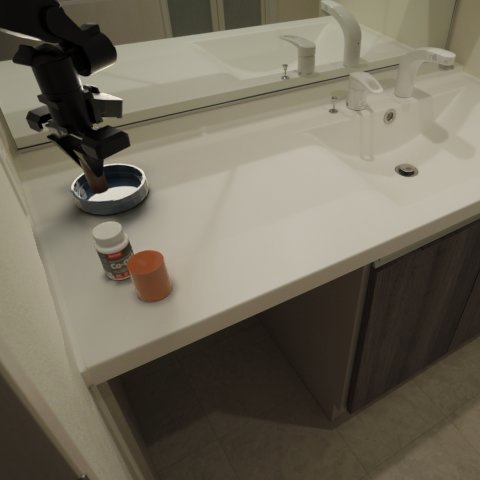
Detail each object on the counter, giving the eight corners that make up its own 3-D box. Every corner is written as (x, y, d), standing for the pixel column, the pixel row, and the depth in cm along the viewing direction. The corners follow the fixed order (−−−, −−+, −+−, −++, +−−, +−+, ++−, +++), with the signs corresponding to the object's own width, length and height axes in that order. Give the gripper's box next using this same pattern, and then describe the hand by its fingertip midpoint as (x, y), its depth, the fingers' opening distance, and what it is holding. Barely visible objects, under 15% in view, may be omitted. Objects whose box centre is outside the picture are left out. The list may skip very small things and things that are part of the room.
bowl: (61, 210, 76) (54, 196, 74) (102, 172, 86) (97, 159, 84) (126, 222, 75) (121, 208, 73) (161, 182, 85) (157, 168, 82)
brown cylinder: (87, 192, 76) (74, 159, 71) (97, 183, 78) (84, 150, 73) (102, 195, 75) (90, 161, 71) (112, 185, 78) (100, 152, 73)
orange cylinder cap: (131, 298, 62) (119, 271, 58) (147, 274, 66) (138, 247, 62) (162, 304, 61) (153, 277, 57) (177, 280, 65) (169, 252, 61)
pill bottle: (118, 285, 64) (101, 245, 58) (100, 271, 66) (82, 231, 60) (144, 268, 67) (130, 228, 61) (127, 255, 69) (112, 215, 63)
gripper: (145, 85, 66) (165, 169, 76) (70, 59, 72) (98, 140, 83) (82, 109, 58) (114, 199, 69) (5, 78, 65) (45, 164, 76)
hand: (93, 173), depth 74 cm, fingers closed on brown cylinder, 3 cm apart
